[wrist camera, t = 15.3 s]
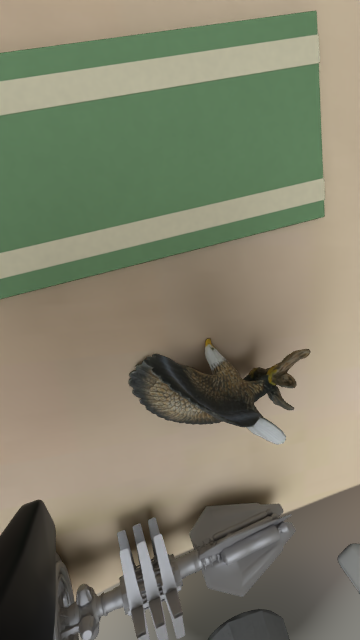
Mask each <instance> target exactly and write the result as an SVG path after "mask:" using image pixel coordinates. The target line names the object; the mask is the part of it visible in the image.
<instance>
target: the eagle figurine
mask: <svg viewBox="0 0 360 640" xmlns="http://www.w3.org/2000/svg"><path fill="white" fill-rule="evenodd" d="M309 354H310V350H309V349H303V350H297V351H294V352H292V353H291V354H289V355H288V356H286V357H285V358H284V359H283V361H282V362H280V363H278V364H276V365H275V366H272V367H271V368H267V369H264V368H260V367H258V368H253V369H252V370H251V371H250V373H249V375H248V376H247V377H245V378H244V379H242V378H241V377H240V375H239V373H238V372H237V371H236V369H235V368H234V367H233V366H232V365H231V364H230V363H229V362H228V361H227V360H226V359H225V358H224V357H223V356H222V355H221V354H220V353H219V352H218V351H217V349H216V348H215V347H214V346H213V345H212V344H211V339H207V340H206V342H205V357H206V359H207V361H208V363H209V365H210V367H211V370H212V375H207V374H204V373H201V372H199V371H197V370H195V369H193V368H191V367H188V366H182V365H179V364H177V363H176V362H174V361H173V360H171V359H169V358H167V357H165V356H162V355H159V354H153V355H152V356H153V357H147V360H146V359H145V360H144V361H143V362H142V364H140V365H136V368H135V369H136V371H133V372H131V373H130V375H129V376H130V378H131V379H130V380H129V382H128V383H129V385H130V386H131V387H132V388H133V389H134V390H133V391H132V393H133V394H134V395H135V396H136V397H139V398H141V400H140V403H141V404H143V405H145V406H146V409H147V410H149V411H151V413H153V414H156V415H157V416H158V417H161V418H165V420H170V421H174V422H179V423H186V424H200V425H201V424H213V423H220V422H223V421H224V422H226V423H229V424H233V425H236V426H240V427H247V428H248V429H249V430H250V431H251V432H252V433H253V434H256V435H258V436H260V437H262V438H264V439H266V440H267V441H269V442H272V443H274V444H281V443H284V441H285V440H286V436H285V434H284V433H283V432H282V431H281V430H280V429H279V428H278V427H277V426H276V425H274V424H273V423H272V422H270V421H268V420H267V419H265V418H263V416H262V415H261V414H260V413H259V411H258V410H257V409H256V407H255V405H254V402H256V401H257V400H258V399H259V398H260V397H262V396H263V395H265V394H266V393H267V394H268V396H269V398H270V400H272V401H273V403H274V404H276V405H279V406H281V407H283V408H284V409H287V410H294V407H292V406H291V405H289V404H288V403H286V402H285V401H284V399H283V398H282V396H281V394H280V391H279V389H278V387H277V386H276V385H279V386H281V387H287V388H295V387H296V381H295V379H294V378H293V377H292V376H291V375H289V374H288V373H287V371H288V370H289V369H290V368H291V367H292V366H293V365H294V364H295V363H296V362H297V361H298V360H300V359H303V358H305V357H307V356H308V355H309Z"/></svg>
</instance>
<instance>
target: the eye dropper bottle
mask: <svg viewBox="0 0 360 640" xmlns="http://www.w3.org/2000/svg"><path fill="white" fill-rule="evenodd" d="M338 562H339V564H340V566H341V568H342V569H343V570H344V572H345V573H346V575H347V576H348V578H349V579H350V581H351V582H352V584H353V585H354V587H355V588H356V589H357V591H358V592H359V594H360V544H350V545H349V546H348V547H347V548H345V549H344V551H343V552H342V553H341V554H340V555H339V556H338Z"/></svg>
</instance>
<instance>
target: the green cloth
mask: <svg viewBox="0 0 360 640" xmlns="http://www.w3.org/2000/svg"><path fill="white" fill-rule="evenodd" d="M319 63H320V58H319V34H317V12H316V11H310V12H303V13H295V14H288V15H280V16H273V17H265V18H258V19H250V20H243V21H236V22H228V23H221V24H213V25H206V26H198V27H191V28H183V29H176V30H168V31H161V32H154V33H146V34H139V35H131V36H124V37H116V38H109V39H101V40H94V41H86V42H79V43H72V44H64V45H57V46H49V47H42V48H34V49H27V50H19V51H12V52H4V53H0V299H3V298H7V297H11V296H15V295H18V294H22V293H26V292H30V291H34V290H38V289H42V288H46V287H50V286H54V285H58V284H62V283H66V282H70V281H74V280H78V279H81V278H85V277H89V276H93V275H97V274H101V273H105V272H109V271H113V270H117V269H121V268H125V267H129V266H133V265H137V264H140V263H144V262H148V261H152V260H156V259H160V258H164V257H168V256H172V255H176V254H180V253H184V252H188V251H192V250H196V249H200V248H203V247H207V246H211V245H215V244H219V243H223V242H227V241H231V240H235V239H239V238H243V237H247V236H251V235H255V234H259V233H262V232H266V231H270V230H274V229H278V228H282V227H286V226H290V225H294V224H298V223H302V222H306V221H310V220H314V219H318V218H321V217H324V216H325V215H324V200H325V189H324V178H323V164H322V139H321V113H320V88H319Z"/></svg>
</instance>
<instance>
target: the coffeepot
mask: <svg viewBox="0 0 360 640" xmlns="http://www.w3.org/2000/svg"><path fill="white" fill-rule="evenodd" d="M208 640H290V639H289V636H288V633H287V630H286V627H285V623H284V620H283V618H282V617H280V616H278V615H277V614H275V613H274V612H272V611H269V610H260V609H258V610H251V611H248V612H244V613H241V614H239V615H237V616H235V617H233V618H231V619H229V620H227V621H226V622H225V623H223V624H222V625H220V626H219V627H218V628H217V629H216V630H215V631H214V632H213V633H212V635H211V636H210V637H209V638H208Z"/></svg>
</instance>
